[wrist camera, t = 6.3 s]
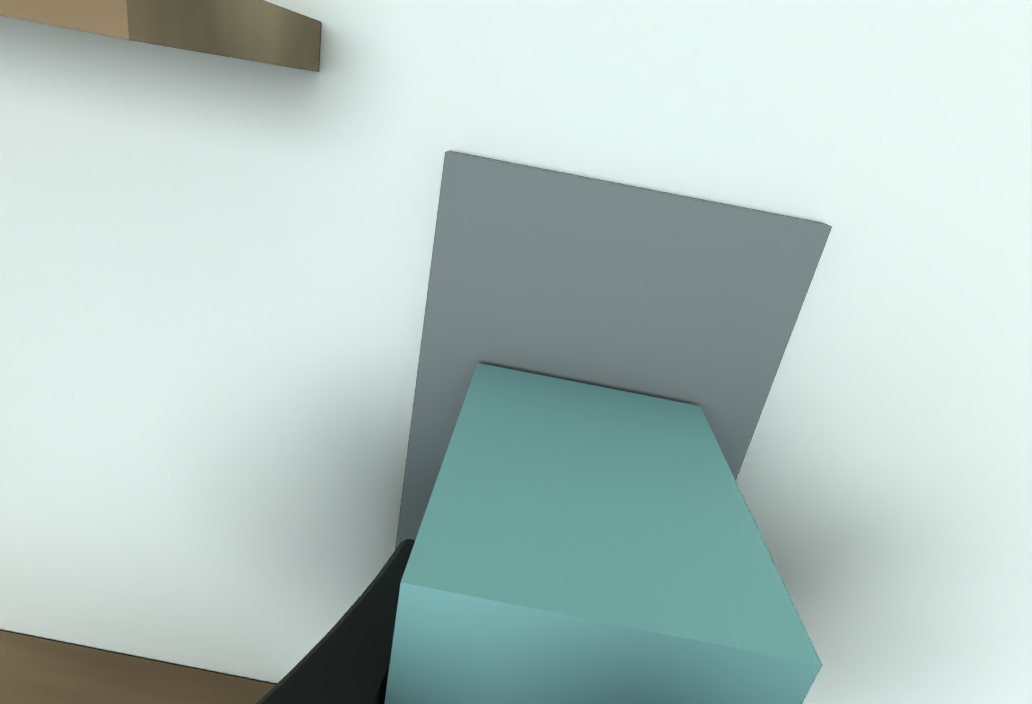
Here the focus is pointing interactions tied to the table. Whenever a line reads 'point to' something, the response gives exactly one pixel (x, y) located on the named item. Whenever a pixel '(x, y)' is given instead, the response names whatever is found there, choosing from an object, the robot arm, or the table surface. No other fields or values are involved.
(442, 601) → the block
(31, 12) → the frame
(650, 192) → the mat
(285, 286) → the table surface
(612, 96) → the table surface
